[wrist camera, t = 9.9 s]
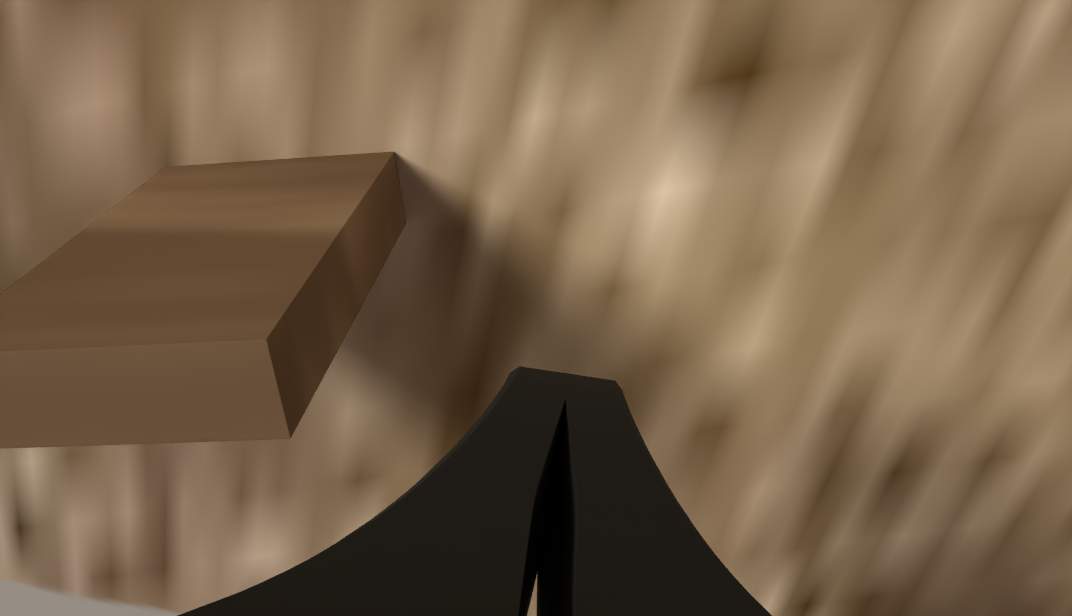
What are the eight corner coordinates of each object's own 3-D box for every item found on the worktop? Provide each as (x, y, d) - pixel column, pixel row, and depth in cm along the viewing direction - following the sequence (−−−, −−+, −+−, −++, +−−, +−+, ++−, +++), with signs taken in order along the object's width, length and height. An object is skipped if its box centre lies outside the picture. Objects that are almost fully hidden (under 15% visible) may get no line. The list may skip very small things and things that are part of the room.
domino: (406, 223, 19) (290, 438, 12) (183, 236, 19) (-38, 449, 13) (394, 151, 18) (265, 339, 12) (165, 167, 19) (-79, 355, 12)
